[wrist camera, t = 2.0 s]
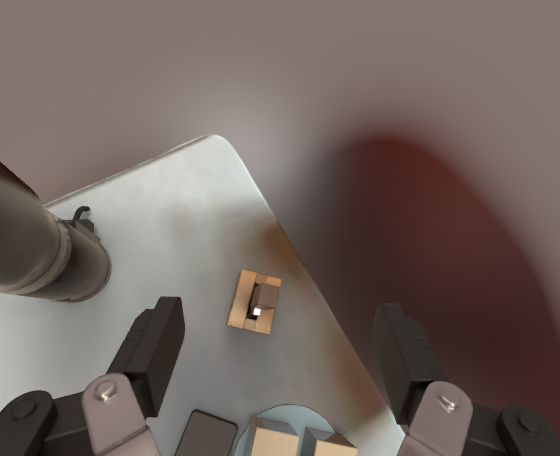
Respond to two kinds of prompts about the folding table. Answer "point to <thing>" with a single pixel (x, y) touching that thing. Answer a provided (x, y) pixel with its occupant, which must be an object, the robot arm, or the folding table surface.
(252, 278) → the knife stand
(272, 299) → the knife
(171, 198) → the folding table surface
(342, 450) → the cake
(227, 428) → the smartphone
